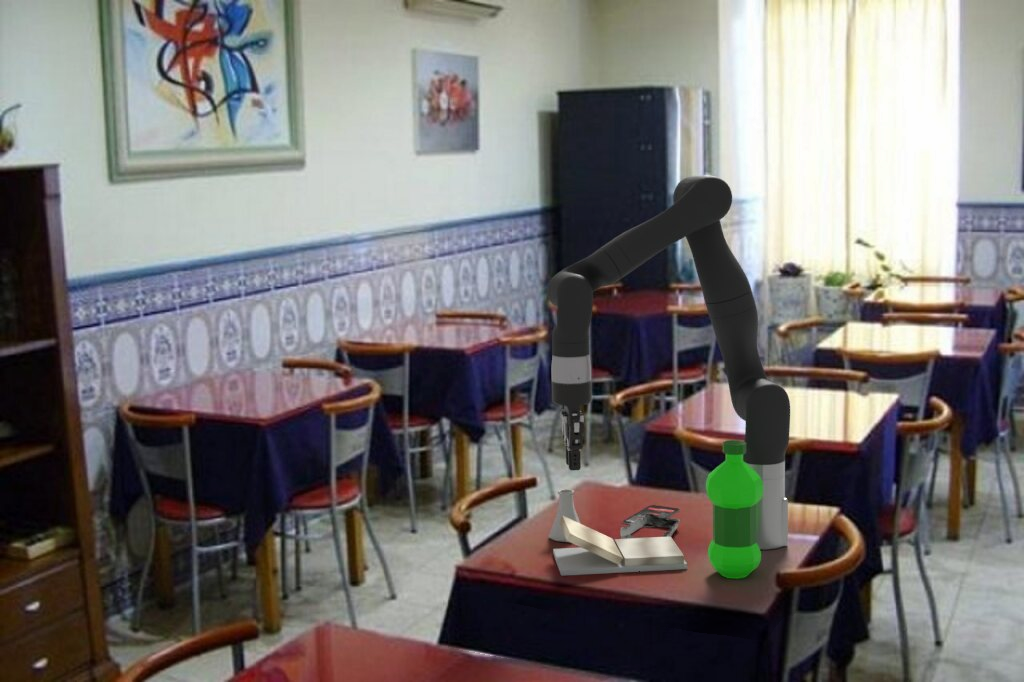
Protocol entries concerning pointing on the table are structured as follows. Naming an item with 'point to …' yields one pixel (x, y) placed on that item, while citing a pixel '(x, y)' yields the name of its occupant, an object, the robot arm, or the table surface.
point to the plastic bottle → (734, 513)
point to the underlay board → (599, 563)
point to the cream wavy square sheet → (590, 540)
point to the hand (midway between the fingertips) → (573, 466)
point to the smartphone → (652, 509)
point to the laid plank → (649, 551)
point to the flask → (566, 510)
